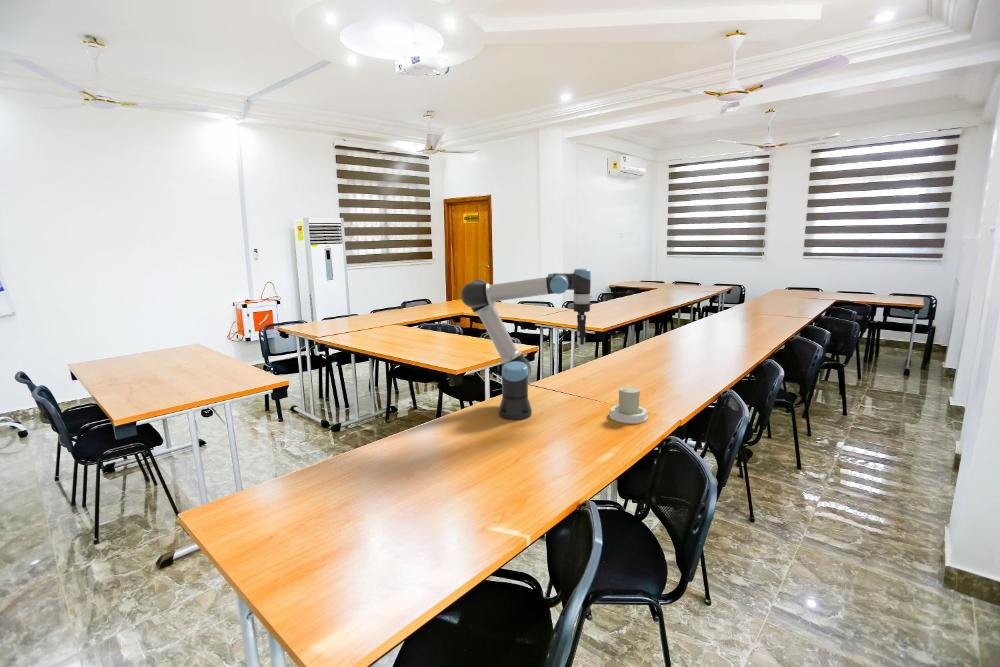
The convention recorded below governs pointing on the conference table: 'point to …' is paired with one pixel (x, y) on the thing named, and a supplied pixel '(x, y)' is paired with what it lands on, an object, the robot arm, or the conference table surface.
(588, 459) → the conference table surface
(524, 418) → the robot arm
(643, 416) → the tray
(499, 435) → the conference table surface
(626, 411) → the can
